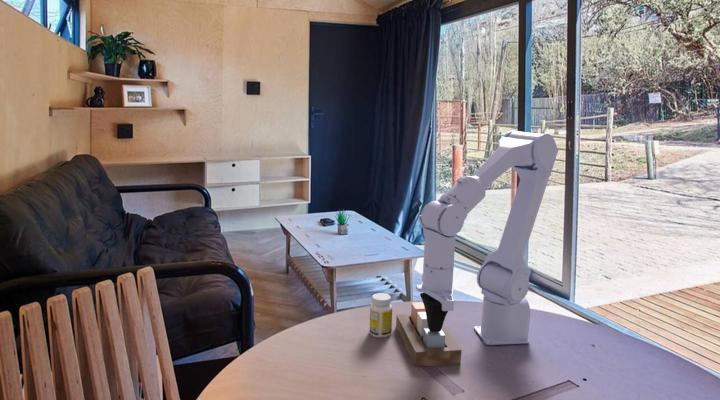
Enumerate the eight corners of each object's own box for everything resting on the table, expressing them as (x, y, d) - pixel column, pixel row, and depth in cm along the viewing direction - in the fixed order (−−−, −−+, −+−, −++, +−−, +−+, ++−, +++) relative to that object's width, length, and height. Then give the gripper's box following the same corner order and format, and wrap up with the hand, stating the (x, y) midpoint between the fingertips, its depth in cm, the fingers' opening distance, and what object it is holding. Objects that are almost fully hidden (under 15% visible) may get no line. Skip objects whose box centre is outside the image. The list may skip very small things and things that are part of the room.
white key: (432, 327, 109) (433, 311, 108) (437, 335, 106) (438, 318, 105) (416, 328, 109) (417, 312, 108) (420, 336, 105) (421, 319, 104)
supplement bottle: (391, 329, 114) (393, 293, 113) (390, 338, 110) (392, 301, 108) (370, 327, 115) (371, 291, 113) (368, 337, 110) (369, 300, 108)
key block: (435, 325, 117) (435, 312, 116) (460, 364, 100) (461, 350, 100) (395, 327, 115) (396, 314, 115) (415, 366, 99) (415, 352, 98)
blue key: (439, 344, 104) (440, 327, 104) (444, 352, 101) (445, 335, 100) (422, 345, 104) (423, 328, 103) (427, 353, 101) (428, 336, 100)
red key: (425, 317, 114) (426, 301, 113) (430, 324, 111) (431, 308, 110) (410, 318, 113) (411, 302, 113) (414, 325, 110) (415, 308, 109)
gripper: (408, 253, 105) (406, 315, 108) (428, 278, 91) (424, 349, 94) (442, 252, 106) (438, 314, 109) (467, 277, 92) (462, 347, 95)
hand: (434, 330), depth 102 cm, fingers closed
